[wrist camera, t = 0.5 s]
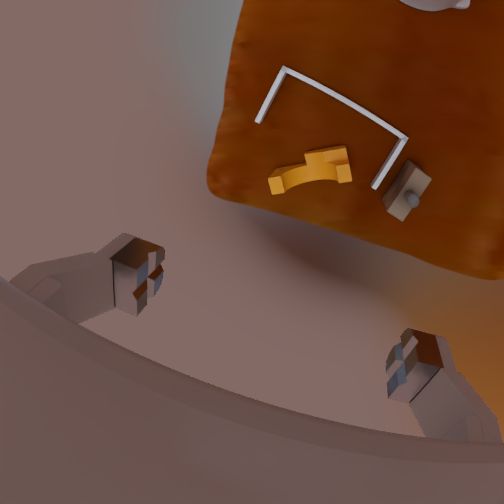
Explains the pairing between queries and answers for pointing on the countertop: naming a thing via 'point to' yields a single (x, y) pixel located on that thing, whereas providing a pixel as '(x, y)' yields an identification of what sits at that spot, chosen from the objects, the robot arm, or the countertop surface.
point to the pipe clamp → (313, 169)
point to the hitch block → (405, 190)
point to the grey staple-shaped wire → (402, 137)
